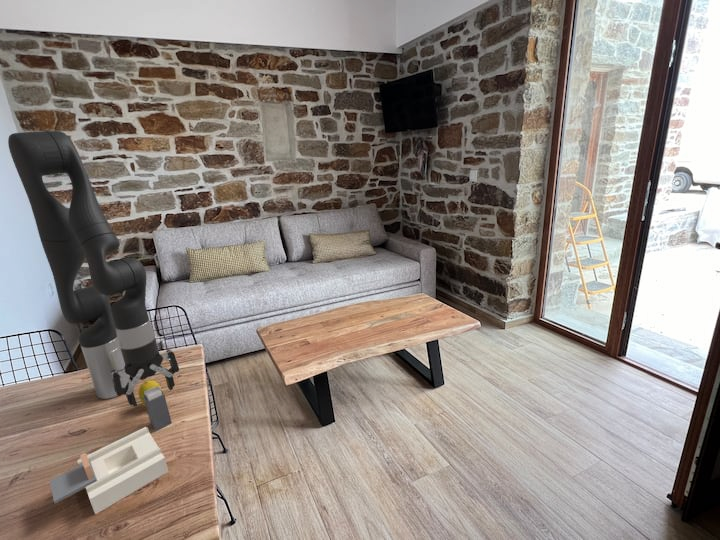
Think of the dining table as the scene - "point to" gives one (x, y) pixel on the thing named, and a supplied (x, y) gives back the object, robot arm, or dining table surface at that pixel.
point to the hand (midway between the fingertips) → (153, 396)
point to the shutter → (73, 480)
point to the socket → (124, 468)
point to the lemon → (146, 388)
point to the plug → (157, 408)
